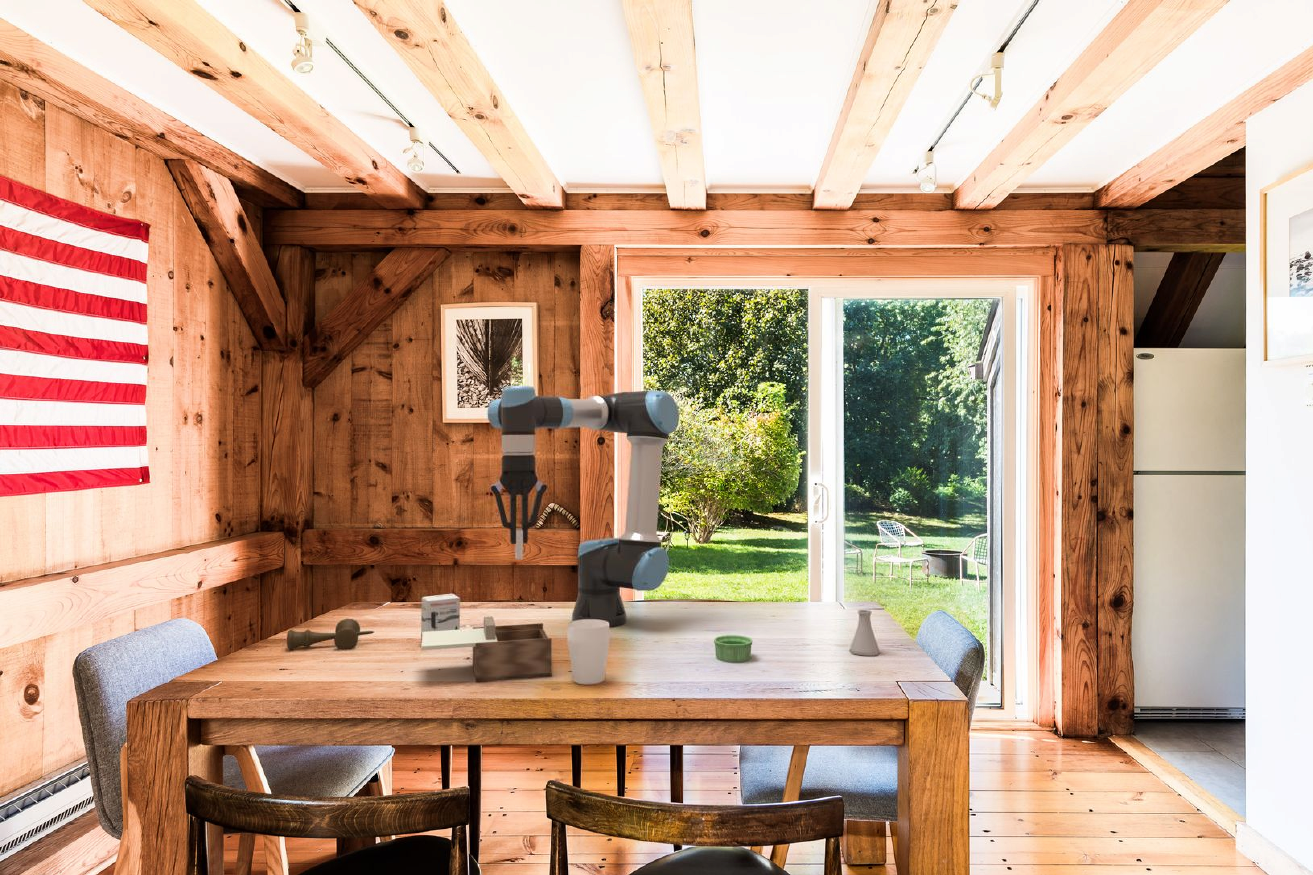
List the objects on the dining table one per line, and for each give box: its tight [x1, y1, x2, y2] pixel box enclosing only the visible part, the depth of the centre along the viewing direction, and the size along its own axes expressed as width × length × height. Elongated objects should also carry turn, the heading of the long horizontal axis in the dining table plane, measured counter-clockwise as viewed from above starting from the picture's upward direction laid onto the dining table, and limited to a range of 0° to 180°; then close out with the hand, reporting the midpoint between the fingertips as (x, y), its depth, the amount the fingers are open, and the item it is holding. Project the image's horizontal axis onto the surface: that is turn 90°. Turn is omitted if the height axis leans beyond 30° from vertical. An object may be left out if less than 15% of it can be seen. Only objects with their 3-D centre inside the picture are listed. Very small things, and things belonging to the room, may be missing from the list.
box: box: [472, 622, 553, 683], centre depth 180 cm, size 16×15×8 cm
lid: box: [421, 616, 497, 651], centre depth 177 cm, size 16×13×4 cm
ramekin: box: [713, 634, 753, 663], centre depth 190 cm, size 9×9×4 cm
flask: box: [849, 609, 881, 657], centre depth 194 cm, size 7×7×10 cm
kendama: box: [286, 618, 375, 652], centre depth 201 cm, size 6×10×20 cm
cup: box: [566, 619, 611, 686], centre depth 172 cm, size 9×9×12 cm
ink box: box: [420, 593, 461, 645], centre depth 203 cm, size 8×5×12 cm, turn 123°
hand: (519, 558), depth 184 cm, fingers closed
